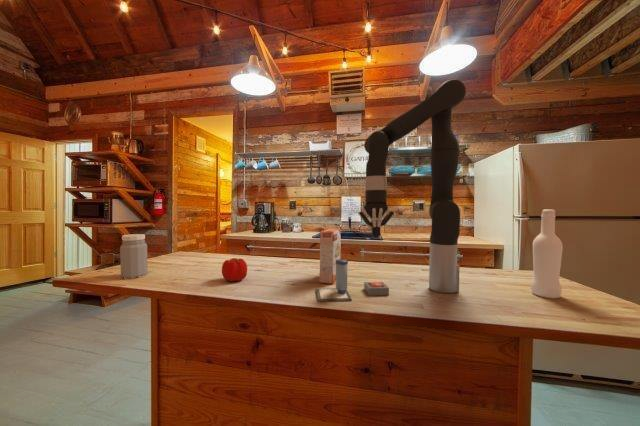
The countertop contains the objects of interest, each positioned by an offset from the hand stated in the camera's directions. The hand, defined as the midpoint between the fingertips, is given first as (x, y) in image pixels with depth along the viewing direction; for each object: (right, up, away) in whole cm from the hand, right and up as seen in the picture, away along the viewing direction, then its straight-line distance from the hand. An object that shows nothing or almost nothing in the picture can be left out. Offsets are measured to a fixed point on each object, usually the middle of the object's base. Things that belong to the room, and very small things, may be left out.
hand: (375, 237), depth 94 cm
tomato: (-56, -19, +14) cm, 61 cm away
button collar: (0, -20, 0) cm, 20 cm away
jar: (-101, -19, +20) cm, 105 cm away
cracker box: (-16, -19, +16) cm, 29 cm away
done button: (0, -19, 0) cm, 19 cm away
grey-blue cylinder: (-13, -19, -3) cm, 23 cm away
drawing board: (-16, -20, -4) cm, 26 cm away
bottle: (+59, -20, -3) cm, 62 cm away
